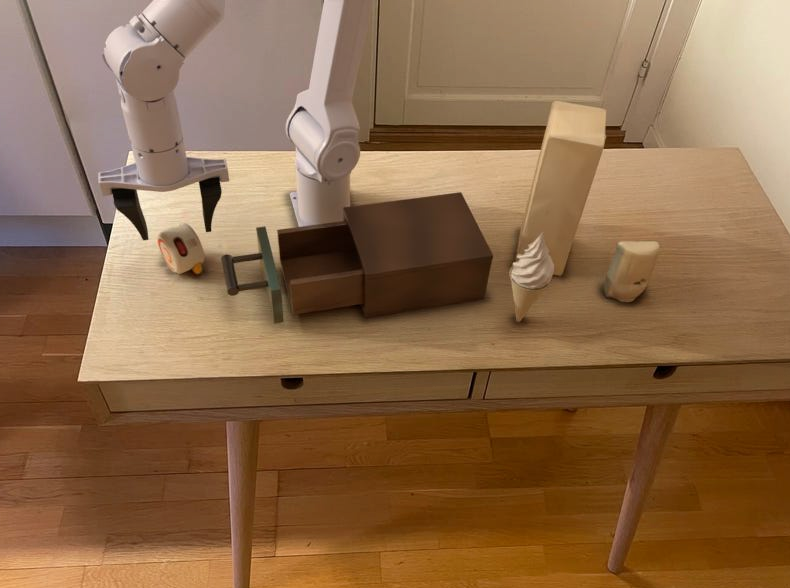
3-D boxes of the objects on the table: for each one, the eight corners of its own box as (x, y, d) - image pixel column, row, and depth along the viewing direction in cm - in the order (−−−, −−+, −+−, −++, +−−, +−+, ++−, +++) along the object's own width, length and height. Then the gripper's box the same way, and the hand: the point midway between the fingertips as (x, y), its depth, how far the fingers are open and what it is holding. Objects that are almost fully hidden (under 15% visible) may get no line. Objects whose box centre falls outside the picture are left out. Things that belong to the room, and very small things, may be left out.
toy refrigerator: (567, 278, 102) (610, 146, 86) (514, 268, 103) (546, 135, 86) (571, 240, 107) (612, 108, 91) (520, 231, 108) (551, 98, 91)
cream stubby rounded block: (621, 271, 104) (638, 226, 97) (652, 292, 101) (672, 247, 95) (595, 289, 101) (611, 244, 95) (626, 311, 99) (645, 267, 92)
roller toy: (189, 244, 102) (182, 211, 97) (213, 271, 99) (207, 238, 94) (159, 257, 100) (151, 223, 95) (182, 285, 97) (174, 251, 92)
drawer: (233, 330, 91) (228, 297, 87) (222, 266, 98) (216, 232, 94) (392, 305, 96) (394, 272, 91) (370, 245, 102) (371, 212, 98)
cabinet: (365, 317, 95) (366, 274, 89) (342, 251, 103) (343, 207, 97) (484, 298, 99) (493, 255, 93) (454, 235, 106) (461, 191, 100)
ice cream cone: (507, 338, 94) (530, 249, 83) (493, 309, 97) (513, 219, 86) (544, 331, 95) (571, 242, 84) (529, 303, 99) (553, 213, 87)
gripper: (217, 111, 88) (230, 203, 99) (87, 124, 85) (115, 217, 96) (225, 146, 84) (238, 239, 95) (88, 161, 81) (117, 255, 91)
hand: (176, 230), depth 95 cm, fingers open, 7 cm apart
